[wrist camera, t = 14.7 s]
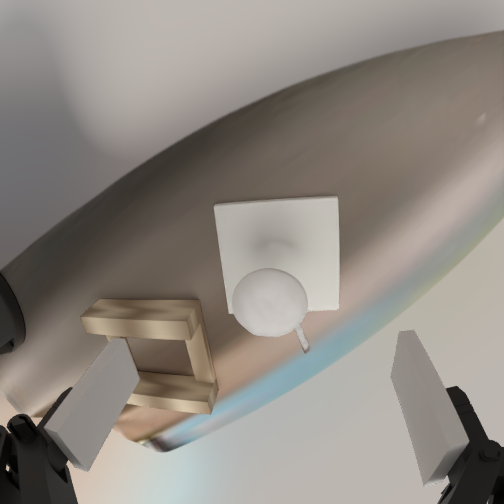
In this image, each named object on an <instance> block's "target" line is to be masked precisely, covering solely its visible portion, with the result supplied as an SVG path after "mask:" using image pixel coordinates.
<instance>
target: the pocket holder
mask: <svg viewBox="0 0 504 504" xmlns="http://www.w3.org/2000/svg"><path fill="white" fill-rule="evenodd" d="M80 318H81V320H82V323H83V326H84V328H85V331H86V333H90V334H99V335H106V337H107V340H108V343H109V342H110V340H111V339H112V338H121V339H125V341H126V344H127V347H128V349H129V352H130V355H131V357H132V354H131V351H130V348H129V346H128V343H127V340H126V337H135V338H150V339H168V340H185V341H186V345H187V349H188V353H189V357H190V360H191V364H192V368H193V371H194V375H195V376H184V375H171V374H160V373H151V372H142V371H138V370H137V367H136V365H135V362H134V359H133V357H132V360H133V363H134V365H135V368H136V371H137V373H138V376H139V378H140V380H139V382H138V384H137V385H136V387H135V389H134V391H133V392H132V394H131V396H130V398H129V399H128V401H127V404H133V405H139V406H145V407H151V408H158V409H165V410H173V411H181V412H190V413H200V414H211V413H212V410H213V406H214V403H215V400H216V397H217V394H218V390H219V389H218V385H217V381H216V376H215V372H214V367H213V363H212V359H211V354H210V349H209V345H208V340H207V335H206V331H205V326H204V321H203V316H202V311H201V306H200V301H199V300H123V299H99V300H98V301H97V302H96V303H94V304H93V305H92V306H91V307H90V308H89V309H88V310H87V311H86V312H85V313H83V314H82V315H81V316H80Z"/></svg>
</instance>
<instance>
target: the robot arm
mask: <svg viewBox="0 0 504 504" xmlns="http://www.w3.org/2000/svg"><path fill="white" fill-rule="evenodd" d="M24 338H25V326H24V321H23V317H22V314H21V311H20V308H19V306H18V303H17V301H16V299H15V297H14V295H13V293H12V291H11V289H10V288H9V286H8V284H7V283H6V281H5V280H4V279H3V277H2V276H1V275H0V356H3V355H6V354H9V353H11V352H13V351H15V350H16V349H17V348H18V347H19V346H20V345H21V344H22V343H23V341H24ZM391 379H392V382H393V385H394V388H395V390H396V394H397V397H398V400H399V403H400V405H401V409H402V412H403V415H404V418H405V421H406V424H407V428H408V431H409V434H410V437H411V441H412V444H413V448H414V451H415V455H416V459H417V462H418V466H419V470H420V473H421V476H422V481H423V485H424V487H425V486H429V485H433V484H437V483H440V482H442V481H443V480H444V479H445V477H446V476H447V475H448V478H449V481H450V483H449V484H448V485H447V486H446V488H445V489H444V490H443V492H442V493H441V494H443V495H442V496H441V498H440V500H439V502H438V504H487V501H488V504H504V447H501V446H500V445H499V443H497V442H495V441H493V440H489V439H488V437H487V435H486V433H485V431H484V429H483V427H482V425H481V423H480V421H479V419H478V417H477V415H476V413H475V412H474V409H473V407H472V405H471V404H470V401H469V399H468V398H467V395H466V394H465V393H464V392H463V391H462V390H461V389H459V387H457V386H454V387H450V388H446V389H445V387H444V385H443V383H442V381H441V379H440V377H439V375H438V373H437V371H436V369H435V367H434V366H433V364H432V362H431V360H430V358H429V356H428V355H427V353H426V351H425V349H424V347H423V345H422V343H421V341H420V340H419V338H418V336H417V334H416V333H415V331H414V330H409V331H401V332H399V334H398V341H397V346H396V352H395V357H394V363H393V367H392V372H391ZM139 380H140V378H139V376H138V373H137V371H136V368H135V365H134V363H133V360H132V357H131V355H130V352H129V349H128V347H127V344H126V341H125V339H121V338H112V339H111V340H110V342H109V343H108V344H107V345H106V347H105V348H104V349H103V350H102V352H101V353H100V354H99V355H98V357H97V358H96V359H95V360H94V362H93V363H92V364H91V366H90V367H89V368H88V369H87V371H86V372H85V373H84V374H83V376H82V377H81V378H80V380H79V381H78V382H77V384H76V385H75V386H74V387H73V388H72V387H70V388H68V389H67V390H66V391H64V392H63V393H62V394H61V395H60V396H59V398H58V399H57V402H55V403H54V404H53V405H52V408H50V409H49V411H48V412H47V413H46V415H45V416H44V417H43V419H42V420H41V422H40V423H39V424H38V426H37V427H36V426H35V424H34V423H33V421H32V420H31V418H30V417H29V416H28V415H26V414H18V415H16V416H14V417H12V418H11V419H10V420H9V422H8V424H7V428H8V430H9V431H10V432H11V433H9V432H8V431H7V430H6V429H5V427H3V426H1V425H0V504H78V502H77V498H76V495H75V491H74V487H73V484H72V480H71V476H70V472H69V468H68V467H67V465H66V463H67V461H68V460H69V461H70V462H71V463H72V464H73V465H74V467H76V468H78V469H81V470H84V471H87V472H88V471H89V470H90V468H91V466H92V464H93V462H94V460H95V458H96V457H97V455H98V453H99V451H100V449H101V447H102V446H103V444H104V442H105V440H106V438H107V436H108V435H109V433H110V431H111V429H112V428H113V426H114V424H115V422H116V420H117V419H118V417H119V415H120V413H121V412H122V410H123V408H124V406H125V405H126V403H127V401H128V399H129V398H130V396H131V394H132V392H133V391H134V389H135V387H136V385H137V384H138V382H139ZM6 465H8V466H9V467H10V468H9V471H7V470H6ZM488 499H489V500H488Z"/></svg>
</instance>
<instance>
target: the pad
mask: <svg viewBox="0 0 504 504" xmlns="http://www.w3.org/2000/svg"><path fill="white" fill-rule="evenodd" d="M214 213H215V220H216V228H217V235H218V242H219V250H220V257H221V264H222V270H223V277H224V284H225V291H226V297H227V304H228V310H229V314H234V313H233V308H232V298H233V293H234V290H235V288H236V286H237V285H238V283H239V281H240V280H241V279H242V277H243V276H244V274H245V273H246V271H247V270H248V268H249V267H250V265H251V263H252V262H253V260H254V258H255V256H256V255H257V253H258V251H259V249H260V247H261V246H262V245H264V244H266V243H267V242H269V241H271V240H282V241H286V242H287V243H288V244H289V245H290V246H292V247H293V248H294V250H295V255H296V259H297V263H298V268H299V272H300V275H301V278H302V281H303V285H304V288H305V292H306V295H307V300H308V308H307V311H324V310H339V213H338V197H337V196H318V197H300V198H284V199H269V200H256V201H243V202H231V203H220V204H216V205H214Z"/></svg>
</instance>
